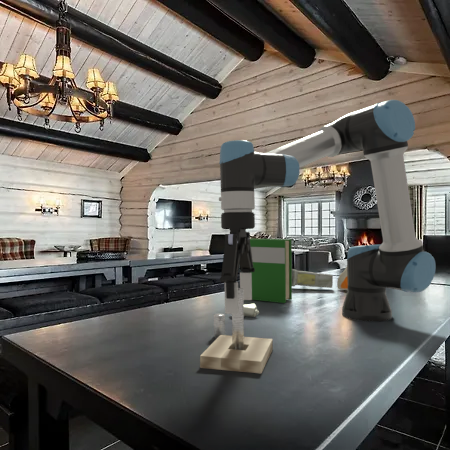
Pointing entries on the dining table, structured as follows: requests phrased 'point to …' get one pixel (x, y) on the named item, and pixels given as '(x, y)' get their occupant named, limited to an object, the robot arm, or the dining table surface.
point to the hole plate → (237, 355)
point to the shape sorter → (343, 281)
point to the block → (311, 279)
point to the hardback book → (271, 269)
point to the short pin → (219, 325)
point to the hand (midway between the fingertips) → (239, 306)
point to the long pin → (238, 323)
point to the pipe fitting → (250, 310)
